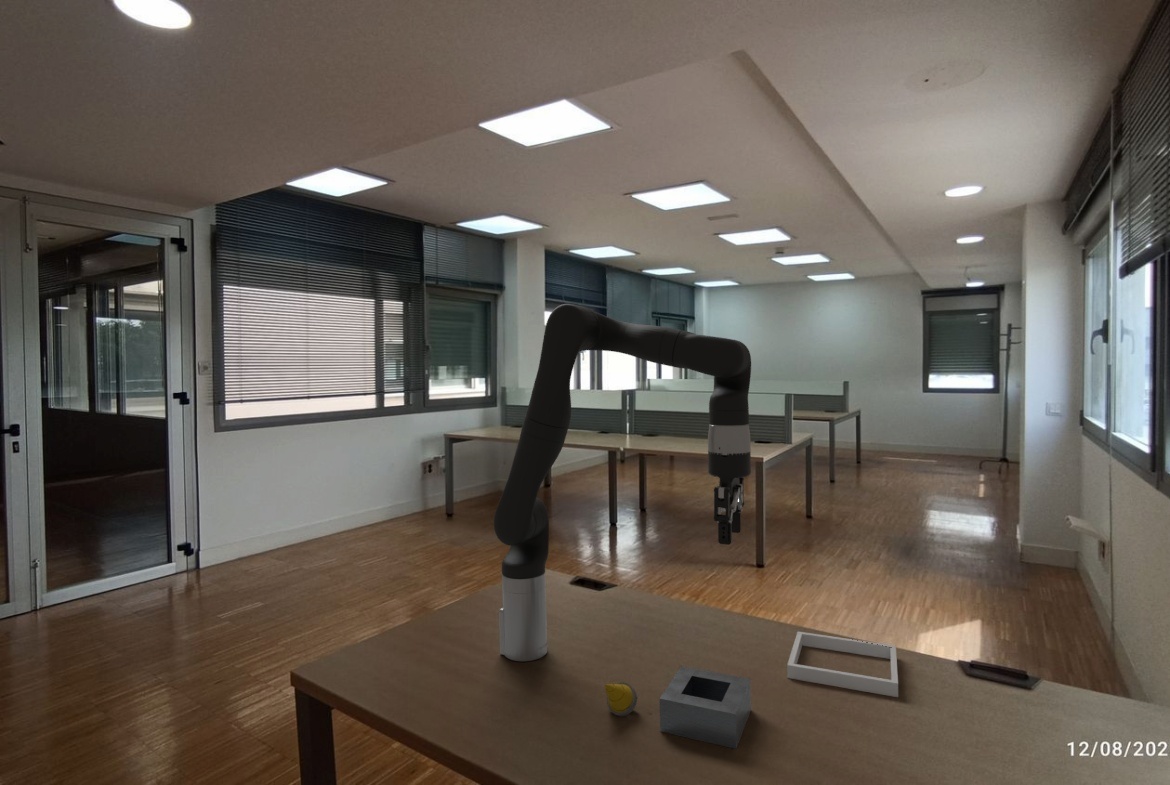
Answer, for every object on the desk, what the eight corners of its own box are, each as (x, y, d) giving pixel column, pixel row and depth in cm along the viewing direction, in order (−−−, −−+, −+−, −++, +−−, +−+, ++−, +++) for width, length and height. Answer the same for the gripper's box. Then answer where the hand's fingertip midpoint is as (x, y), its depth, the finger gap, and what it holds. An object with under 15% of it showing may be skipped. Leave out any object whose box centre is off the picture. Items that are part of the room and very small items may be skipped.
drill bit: (646, 716, 108) (622, 694, 102) (618, 726, 109) (593, 705, 103) (640, 686, 112) (616, 663, 106) (613, 696, 113) (588, 674, 108)
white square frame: (787, 677, 120) (787, 664, 120) (797, 642, 135) (797, 631, 135) (898, 697, 112) (898, 683, 111) (895, 657, 127) (895, 645, 127)
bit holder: (660, 731, 103) (659, 698, 102) (681, 695, 114) (681, 666, 114) (736, 748, 97) (735, 714, 97) (750, 709, 109) (750, 678, 108)
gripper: (717, 444, 121) (718, 527, 122) (698, 453, 108) (699, 545, 109) (757, 445, 118) (757, 530, 118) (742, 454, 105) (743, 550, 106)
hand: (730, 537), depth 114 cm, fingers open, 8 cm apart
